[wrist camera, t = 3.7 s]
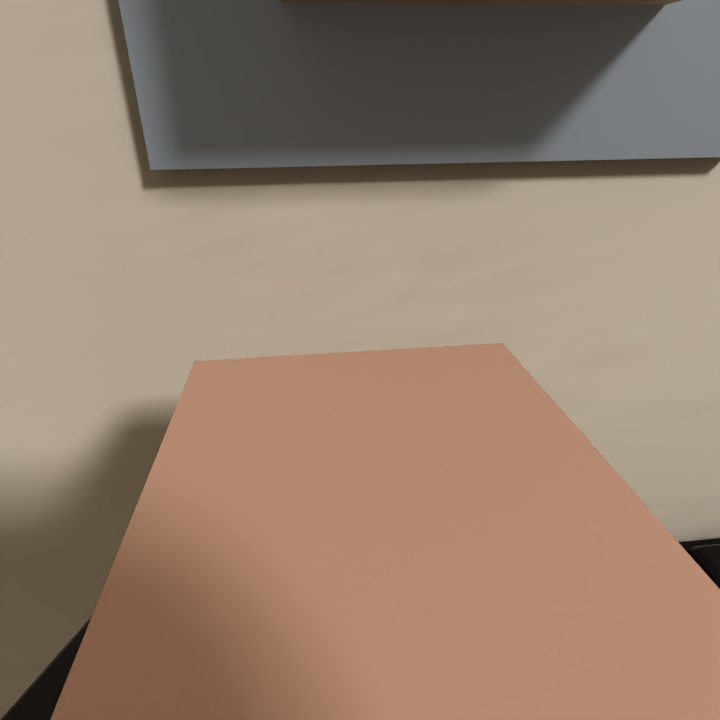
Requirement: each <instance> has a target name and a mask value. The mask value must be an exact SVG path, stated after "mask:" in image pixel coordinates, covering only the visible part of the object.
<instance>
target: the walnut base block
mask: <svg viewBox="0 0 720 720" xmlns="http://www.w3.org/2000/svg"><path fill="white" fill-rule="evenodd" d="M678 1H682V0H279V2H383V3H488V4H594V5H667V4H671V3H674V2H678Z"/></svg>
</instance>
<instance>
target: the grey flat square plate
mask: <svg viewBox="0 0 720 720" xmlns="http://www.w3.org/2000/svg"><path fill="white" fill-rule="evenodd" d="M118 2H119V7H120V12H121V17H122V23H123V28H124V33H125V39H126V44H127V49H128V54H129V60H130V65H131V70H132V76H133V81H134V86H135V92H136V97H137V102H138V107H139V113H140V118H141V123H142V129H143V134H144V139H145V144H146V150H147V155H148V160H149V166H150V170H177V169H222V168H266V167H310V166H354V165H398V164H443V163H487V162H531V161H575V160H619V159H664V158H708V157H720V0H682V1H678V2H674V3H671V4H667V5H594V4H488V3H383V2H279V0H118Z"/></svg>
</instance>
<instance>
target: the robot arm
mask: <svg viewBox="0 0 720 720" xmlns="http://www.w3.org/2000/svg"><path fill="white" fill-rule="evenodd" d="M680 545H681V546H682V547H683V548H684V549H685V550H686V552H687V553H688V554H689V555H690V556H691V557H692V558H693V559H694V561H695V562H696V563H697V564H698V565H699V566H700V567H701V569H702V570H703V571H704V572H705V573H706V574H707V575H708V576H709V578H710V579H711V580H712V581H713V582H714V583H715V584H716V585H717V587H718V588H719V589H720V540H714V541H704V542H694V543H685V544H680ZM91 618H92V617H91ZM91 618H90V619H89V620H88V621H87V622H86V623H85V625H84V626H83V627H82V628H81V629H80V630H79V631H78V632H77V634H76V635H75V636H74V637H73V638H72V639H71V640H70V641H69V643H68V644H67V645H66V646H65V647H64V648H63V649H62V651H61V652H60V653H59V654H58V655H57V656H56V657H55V658H54V660H53V661H52V662H51V663H50V664H49V665H48V666H47V668H46V669H45V670H44V671H43V672H42V673H41V674H40V675H39V677H38V678H37V679H36V680H35V681H34V682H33V683H32V684H31V686H30V687H29V688H28V689H27V690H26V691H25V692H24V694H23V695H22V696H21V697H20V698H19V699H18V700H17V701H16V703H15V704H14V705H13V706H12V707H11V708H10V709H9V711H8V712H7V713H6V714H5V715H4V716H3V717H2V718H1V720H51V717H52V715H53V712H54V710H55V707H56V705H57V702H58V700H59V697H60V695H61V692H62V690H63V687H64V685H65V682H66V680H67V677H68V675H69V672H70V670H71V667H72V665H73V662H74V660H75V657H76V655H77V652H78V650H79V647H80V645H81V642H82V640H83V637H84V635H85V633H86V630H87V628H88V625H89V623H90V620H91Z"/></svg>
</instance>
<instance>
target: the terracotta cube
mask: <svg viewBox="0 0 720 720" xmlns="http://www.w3.org/2000/svg"><path fill="white" fill-rule="evenodd" d="M51 720H720V589H719V588H718V587H717V585H716V584H715V583H714V582H713V581H712V580H711V579H710V578H709V576H708V575H707V574H706V573H705V572H704V571H703V570H702V569H701V567H700V566H699V565H698V564H697V563H696V562H695V561H694V559H693V558H692V557H691V556H690V555H689V554H688V553H687V552H686V550H685V549H684V548H683V547H682V546H681V545H680V544H679V542H678V541H677V540H676V539H675V538H674V537H673V536H672V535H671V533H670V532H669V531H668V530H667V529H666V528H665V527H664V525H663V524H662V523H661V522H660V521H659V520H658V519H657V518H656V516H655V515H654V514H653V513H652V512H651V511H650V510H649V509H648V507H647V506H646V505H645V504H644V503H643V502H642V501H641V499H640V498H639V497H638V496H637V495H636V494H635V493H634V492H633V490H632V489H631V488H630V487H629V486H628V485H627V484H626V482H625V481H624V480H623V479H622V478H621V477H620V476H619V475H618V473H617V472H616V471H615V470H614V469H613V468H612V467H611V465H610V464H609V463H608V462H607V461H606V460H605V459H604V458H603V456H602V455H601V454H600V453H599V452H598V451H597V450H596V449H595V447H594V446H593V445H592V444H591V443H590V442H589V441H588V439H587V438H586V437H585V436H584V435H583V434H582V433H581V432H580V430H579V429H578V428H577V427H576V426H575V425H574V424H573V422H572V421H571V420H570V419H569V418H568V417H567V416H566V415H565V413H564V412H563V411H562V410H561V409H560V408H559V407H558V405H557V404H556V403H555V402H554V401H553V400H552V399H551V398H550V396H549V395H548V394H547V393H546V392H545V391H544V390H543V389H542V387H541V386H540V385H539V384H538V383H537V382H536V381H535V379H534V378H533V377H532V376H531V375H530V374H529V373H528V372H527V370H526V369H525V368H524V367H523V366H522V365H521V364H520V362H519V361H518V360H517V359H516V358H515V357H514V356H513V355H512V353H511V352H510V351H509V350H508V349H507V348H506V347H505V345H504V344H503V343H496V344H480V345H463V346H446V347H429V348H412V349H395V350H378V351H362V352H345V353H328V354H311V355H294V356H277V357H260V358H244V359H227V360H210V361H194V364H193V366H192V369H191V371H190V374H189V376H188V379H187V381H186V384H185V386H184V389H183V391H182V394H181V396H180V399H179V401H178V404H177V406H176V409H175V411H174V414H173V416H172V419H171V421H170V424H169V426H168V429H167V431H166V434H165V436H164V439H163V441H162V444H161V446H160V449H159V451H158V453H157V456H156V458H155V461H154V463H153V466H152V468H151V471H150V473H149V476H148V478H147V481H146V483H145V486H144V488H143V491H142V493H141V496H140V498H139V501H138V503H137V506H136V508H135V511H134V513H133V516H132V518H131V521H130V523H129V526H128V528H127V531H126V533H125V536H124V538H123V541H122V543H121V545H120V548H119V550H118V553H117V555H116V558H115V560H114V563H113V565H112V568H111V570H110V573H109V575H108V578H107V580H106V583H105V585H104V588H103V590H102V593H101V595H100V598H99V600H98V603H97V605H96V608H95V610H94V613H93V615H92V618H91V620H90V623H89V625H88V628H87V630H86V633H85V635H84V637H83V640H82V642H81V645H80V647H79V650H78V652H77V655H76V657H75V660H74V662H73V665H72V667H71V670H70V672H69V675H68V677H67V680H66V682H65V685H64V687H63V690H62V692H61V695H60V697H59V700H58V702H57V705H56V707H55V710H54V712H53V715H52V717H51Z"/></svg>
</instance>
